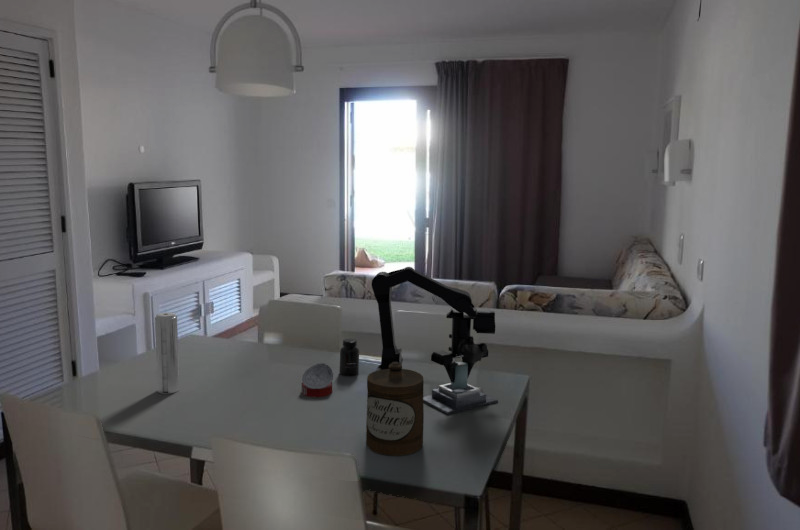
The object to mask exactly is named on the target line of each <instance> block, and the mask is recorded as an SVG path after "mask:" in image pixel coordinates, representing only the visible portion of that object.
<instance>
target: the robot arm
mask: <svg viewBox="0 0 800 530" xmlns="http://www.w3.org/2000/svg"><path fill="white" fill-rule="evenodd" d="M407 282H408V283H410V284H413V285H414V286H417V287H418V288H420V289H422V290H425V291H426V292H428V293H430V294H432V295H434V296H436V297H438V298H440V299H441V300H443V301H444V303H447V305H448V306H449V307H450V308H451V309H450V311H449V312H447V313H446V314H445V315H446V317H445V318H447V319H452V320H451V334H450V333H449V334H448V338H449V339H451V344H450V345H451V346H448V352H447V351H444V350H437V351H433V352H432V353H431V357H430V361H432V362H433V363H435V364H438V365H439V366H443V367H444V368H445V369H444V370H445V371H446V373H447V376H448V378H449V381H450V383H451V382H452V383H454V380H455V367H456V366H457V365H458V363H455V362H456V359H458V358H459V359H460V358H461V360H462V361H461V362H465V363H467V364H468V377H467V380H468V379H469V376H470V375H471V372H472V369H473V367H474V365H475V364H476V363H477V362H481V361H482V358H483V359H484V358H488V357H489V349H488V345H487V343H485V342H481V343H475V341H474V336H473V335H471V331H472V330H474V332H476V334H486V335H495V333H496V317H495V316H496V312H495V311H492V310H491V311H479V310H477V307H476V306H475V305H474V303H473V302H472V300H473V299H472V296H471V294H470V292H468V291H466V290H464V289H459V288H456V287H452V286H448V285H447V284H446V285H445V284H444V283H442V282H439V281H438V280H435V279H434V278H432V277H430V276H428V275H426V274H423V273H422V272H420V271H418V270H416V269H414V268H413V267H412V266H406V267H404V268H400V269H397V270H396V269H395V270H393V271H389V272H386V271H380V272H378V273H377V274H376V275H375V276H374V277H373V278H372V279H371V288H372V292H373V294H374V295H373V296H374V297H375V300H376V302H377V306H378V307H377V308H378V315H379V316H378V317H379V323H380V325H379V326H380V333H381V335H380V336H381V343H382V350H381V351H382V352H381V357H380V358H381V359H380V360H381V361H380V364H379V365H378V366H377V367H376V370H375V371H378V370H383V369H389V365H390V364H391V363H392V362H399V363H400V364H402V365H403V361H404V359H403V357H402V353H403V352H402V350H403V349H402V348H398V347H397V345H396V339H395V329H394V328H395V327H394V322H393V321H394V320H393V310H392V301H391V300H392V292H393V288H394V287H397V286H398V285H401V284H403V283H407ZM464 313H465V314H464ZM471 326H472V329H471ZM449 351H450V352H449Z"/></svg>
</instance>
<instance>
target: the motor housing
mask: <svg viewBox="0 0 800 530" xmlns="http://www.w3.org/2000/svg"><path fill="white" fill-rule="evenodd" d="M496 403H499V400H498V399H497V398H495V397H493V396H490V395H488V394H486V393H484V390H483V388H482V387H480V386H479V387H476V386H474V385H471V384H469V383H467V387H466V388H463V389H458V388H453V387H452V386H451V382H449V383H445V384H440V385H438V388H432V389H431V394H430V395H425V396H423V404H425V405H428V406H430V407H432V408H433V409H436V410H437V411H439V412H441V413H443V414H444V415H447V416H448V415H453V414H456V413H460V412H465V411H469V410H473V409H476V408H480V407H484V406H487V405H492V404H496Z"/></svg>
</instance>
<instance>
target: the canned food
mask: <svg viewBox="0 0 800 530" xmlns="http://www.w3.org/2000/svg"><path fill="white" fill-rule="evenodd" d="M301 380H302V382H301V394H302V395H303V396H306V397H308V398H309V397H310V398H322V397H327V396H329V395H331V394H332V393H333V380H334V373H333V370H332V367H330V365H328V364H326V363H315V364H313V365H312V366H309V368H308V369H306V370H305V371H304V373H303V374H302V379H301Z"/></svg>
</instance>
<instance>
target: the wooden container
mask: <svg viewBox="0 0 800 530" xmlns="http://www.w3.org/2000/svg"><path fill="white" fill-rule="evenodd" d="M366 377H367V378H366V388H367V393H366V394H367V398H366V399H367V400H366V401H367V402H366V420H365V421H366V423H365V424H366V425H365V429H366V433H365V434H366V435H365V436H366V440H365V441H366V443H365V444H366V446H367V447H368V449H369V450H371V451H372V452H374V453H377V454H380V455H384V456H392V457H401V456H405V455H410V454H414V453H416V452H418V451H420V450H421V448H423V445H424V420H425V419H424V417H425V416H424V412H425V411H424V402H423V397H424V383H425V382H424V380H425V379H424V376H423V375H422V374H421V373H420V372H418V371H416V370H411V369H407V368H406V369H405V368H403V363H402V364H400V363H399V362H392V363H391V364H390V365H389V369H383V370H378V371H376V370H375V371H372V372H371V373H369V374H368V375H367V376H366Z"/></svg>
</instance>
